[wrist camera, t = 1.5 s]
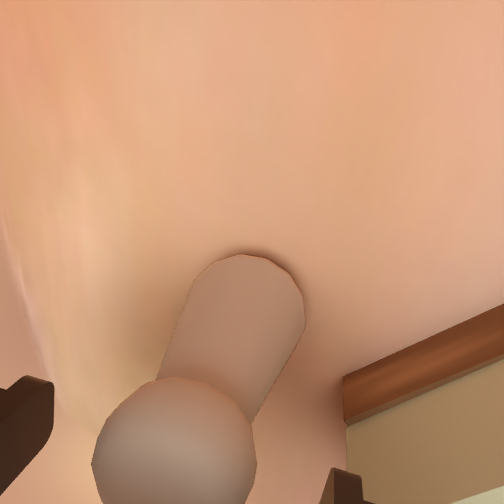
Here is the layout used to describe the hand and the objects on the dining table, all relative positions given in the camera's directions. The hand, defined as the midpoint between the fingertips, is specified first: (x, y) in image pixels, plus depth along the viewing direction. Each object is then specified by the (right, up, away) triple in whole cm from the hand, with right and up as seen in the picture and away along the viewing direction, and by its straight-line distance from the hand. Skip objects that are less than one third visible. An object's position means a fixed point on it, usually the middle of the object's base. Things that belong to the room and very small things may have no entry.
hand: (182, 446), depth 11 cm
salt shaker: (+2, +3, +11) cm, 12 cm away
